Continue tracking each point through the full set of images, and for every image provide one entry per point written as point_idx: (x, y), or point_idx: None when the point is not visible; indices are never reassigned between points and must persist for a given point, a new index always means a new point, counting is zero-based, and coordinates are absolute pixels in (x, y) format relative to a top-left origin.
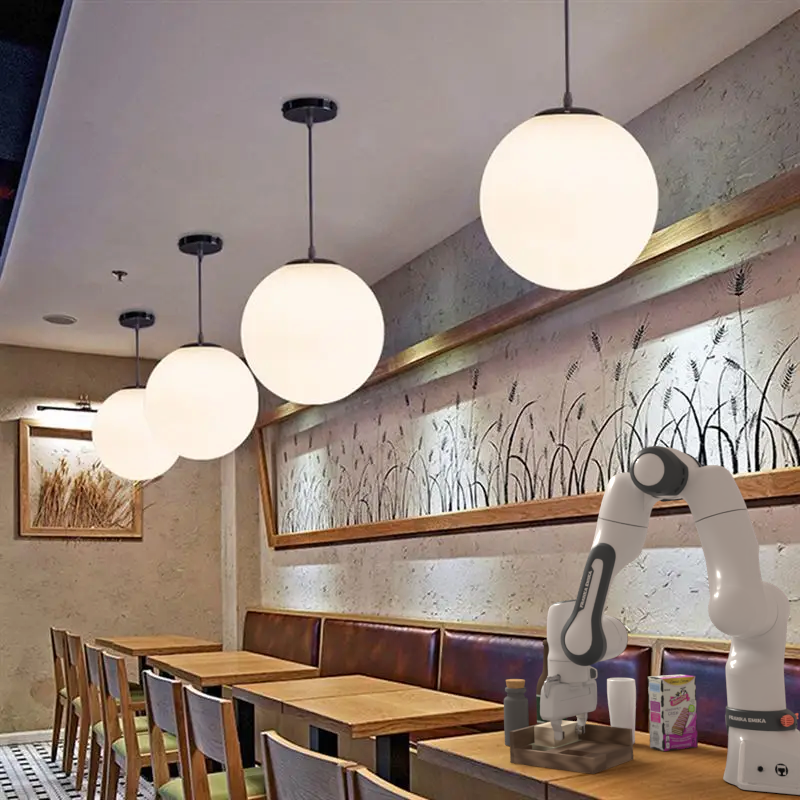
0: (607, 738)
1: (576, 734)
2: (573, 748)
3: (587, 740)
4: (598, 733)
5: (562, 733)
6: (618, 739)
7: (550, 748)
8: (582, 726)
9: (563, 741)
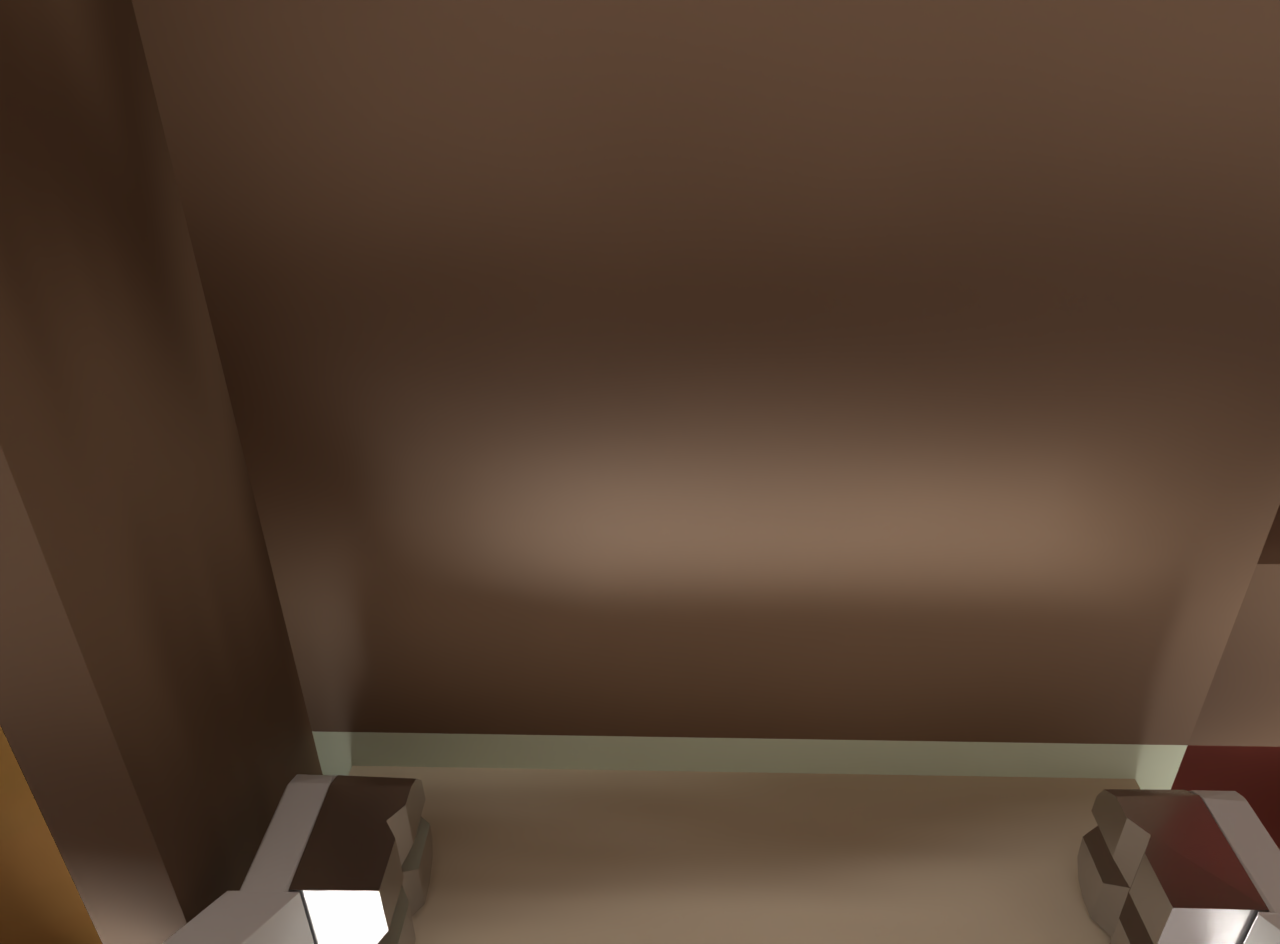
0: (160, 321)
1: None
2: (1123, 534)
3: (293, 655)
4: (175, 558)
5: (1248, 881)
6: (70, 17)
7: None
8: (348, 887)
9: (844, 811)
